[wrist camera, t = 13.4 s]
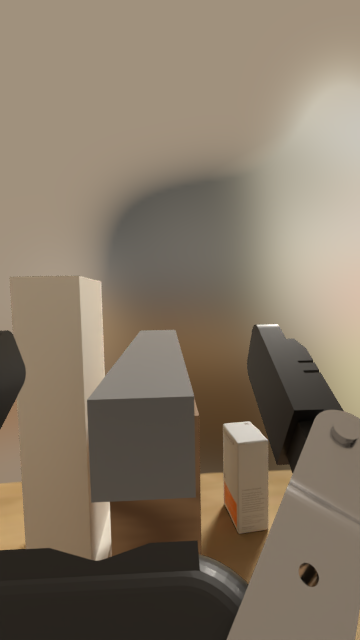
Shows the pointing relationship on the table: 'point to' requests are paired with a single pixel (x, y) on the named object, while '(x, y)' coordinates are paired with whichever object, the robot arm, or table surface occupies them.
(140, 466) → the grey block
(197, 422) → the brown wooden block
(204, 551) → the table surface
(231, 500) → the skincare box
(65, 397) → the tall stand
